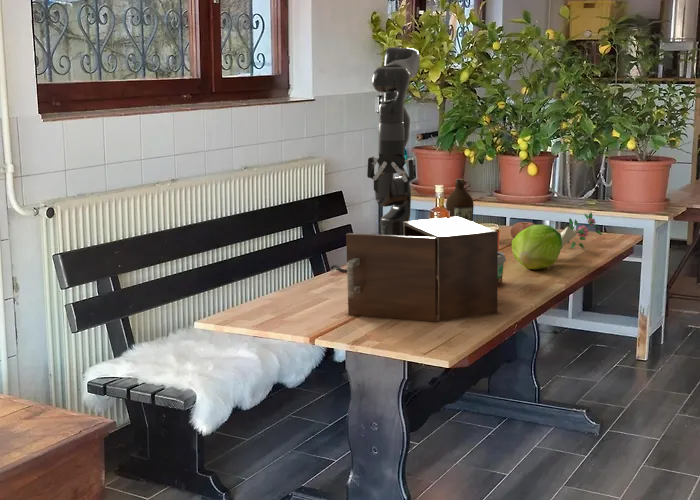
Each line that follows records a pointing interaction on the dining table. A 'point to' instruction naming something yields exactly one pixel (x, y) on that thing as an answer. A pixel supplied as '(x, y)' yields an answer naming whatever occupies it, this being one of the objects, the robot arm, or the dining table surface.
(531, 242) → the lettuce
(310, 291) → the dining table surface
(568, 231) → the flower vase
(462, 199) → the olive oil
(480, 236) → the cupboard
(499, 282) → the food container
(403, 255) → the door
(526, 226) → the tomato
